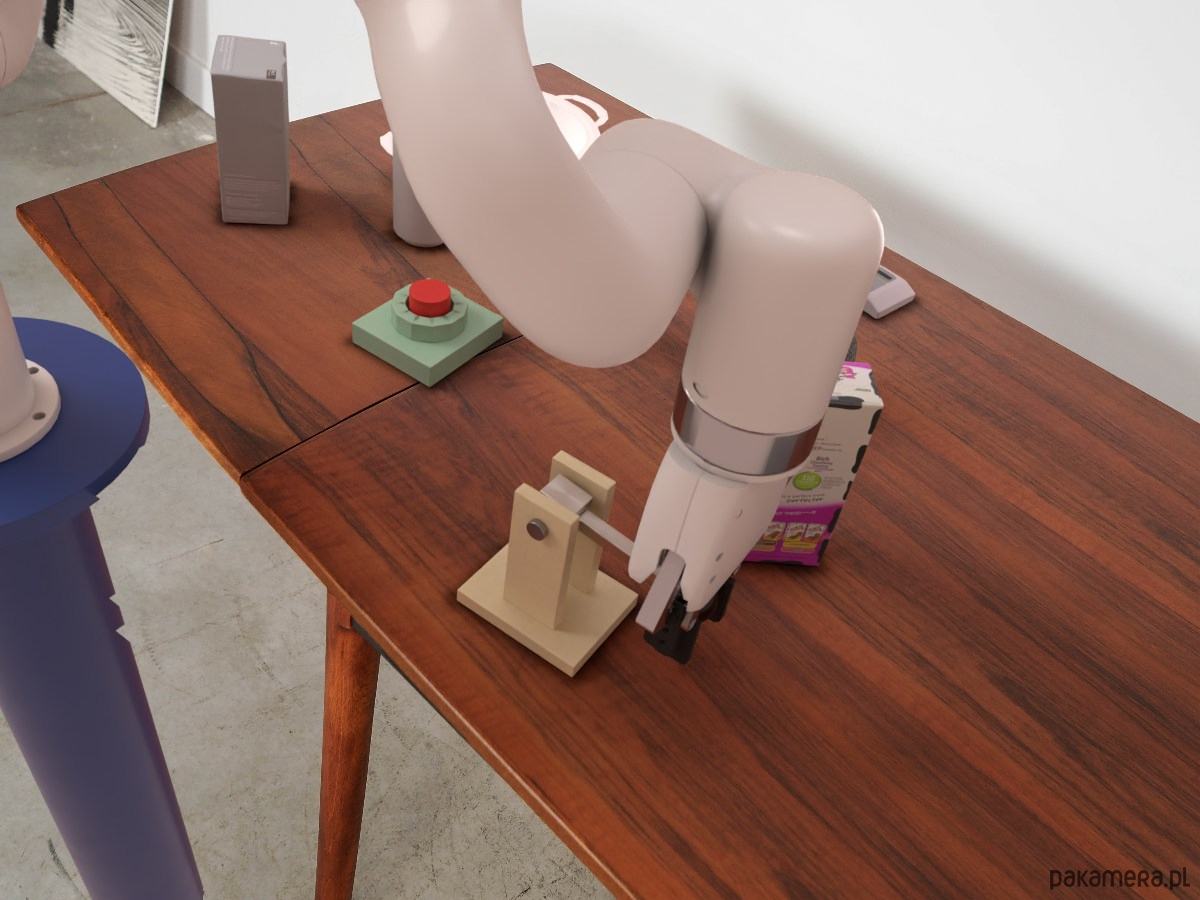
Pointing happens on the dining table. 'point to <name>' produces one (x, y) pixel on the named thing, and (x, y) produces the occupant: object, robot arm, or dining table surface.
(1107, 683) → the dining table surface
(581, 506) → the lever
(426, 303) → the button
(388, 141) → the pot
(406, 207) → the beverage can
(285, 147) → the cosmetic box
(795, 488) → the candy bar box
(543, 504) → the bracket
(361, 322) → the button box
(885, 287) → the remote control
